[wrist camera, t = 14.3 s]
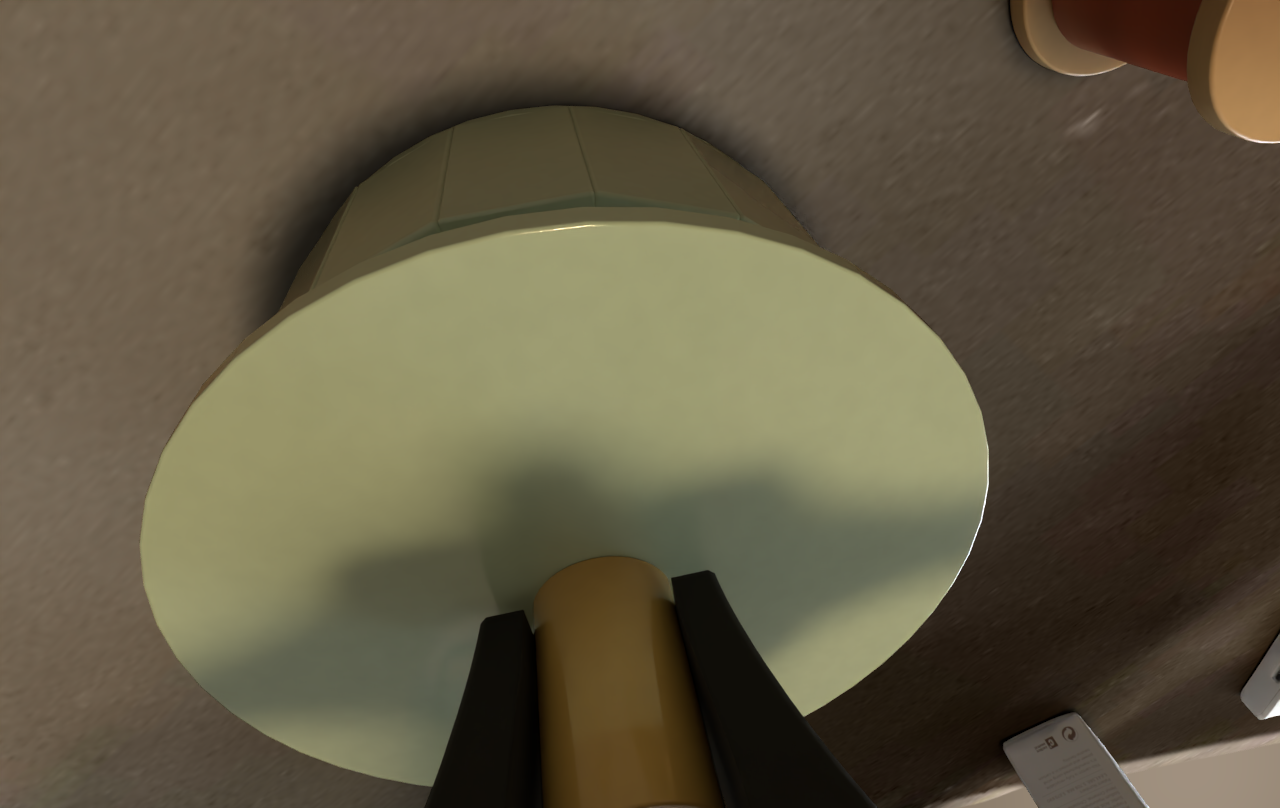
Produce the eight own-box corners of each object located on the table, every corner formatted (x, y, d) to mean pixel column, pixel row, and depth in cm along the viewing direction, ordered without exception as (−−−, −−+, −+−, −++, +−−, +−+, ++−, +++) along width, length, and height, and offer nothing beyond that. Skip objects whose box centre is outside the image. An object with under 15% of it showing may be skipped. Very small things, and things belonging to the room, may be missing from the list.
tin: (810, 493, 22) (877, 627, 18) (401, 579, 21) (380, 738, 17) (829, 52, 14) (958, 124, 10) (175, 169, 13) (41, 293, 9)
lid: (908, 669, 17) (1025, 897, 13) (363, 792, 17) (322, 1070, 13) (1035, 97, 9) (1454, 274, 5) (-72, 300, 8) (-585, 690, 4)
